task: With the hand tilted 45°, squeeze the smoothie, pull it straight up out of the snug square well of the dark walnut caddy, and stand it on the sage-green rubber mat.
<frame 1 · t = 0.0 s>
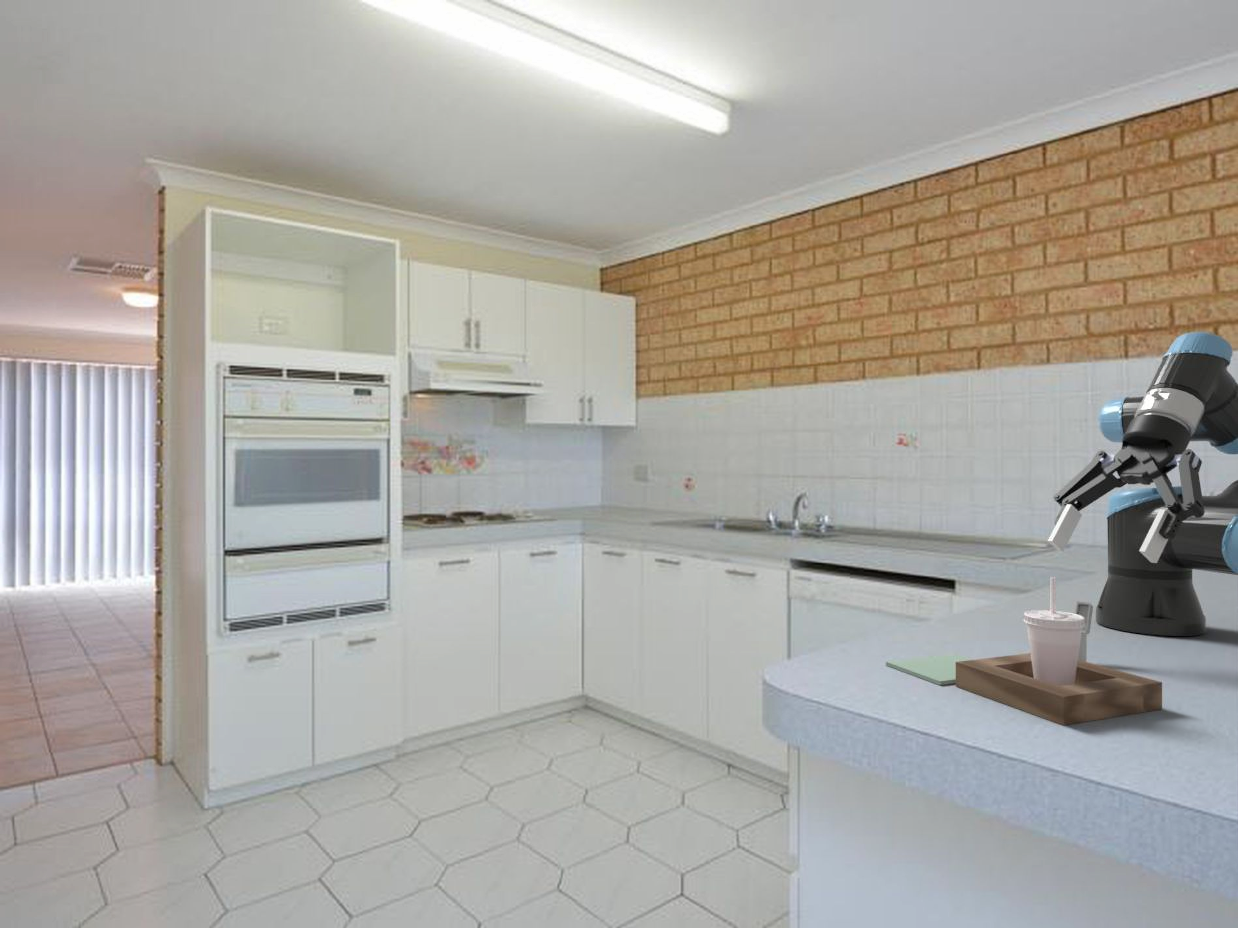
hand: (1098, 551, 106), 15 cm above the worktop, tool tilted 35°, fingers open, 13 cm apart
caddy: (1053, 696, 91), on the worktop
lighter: (1078, 663, 107), on the worktop
smoothie: (1053, 698, 91), resting in caddy
mat: (948, 670, 103), on the worktop
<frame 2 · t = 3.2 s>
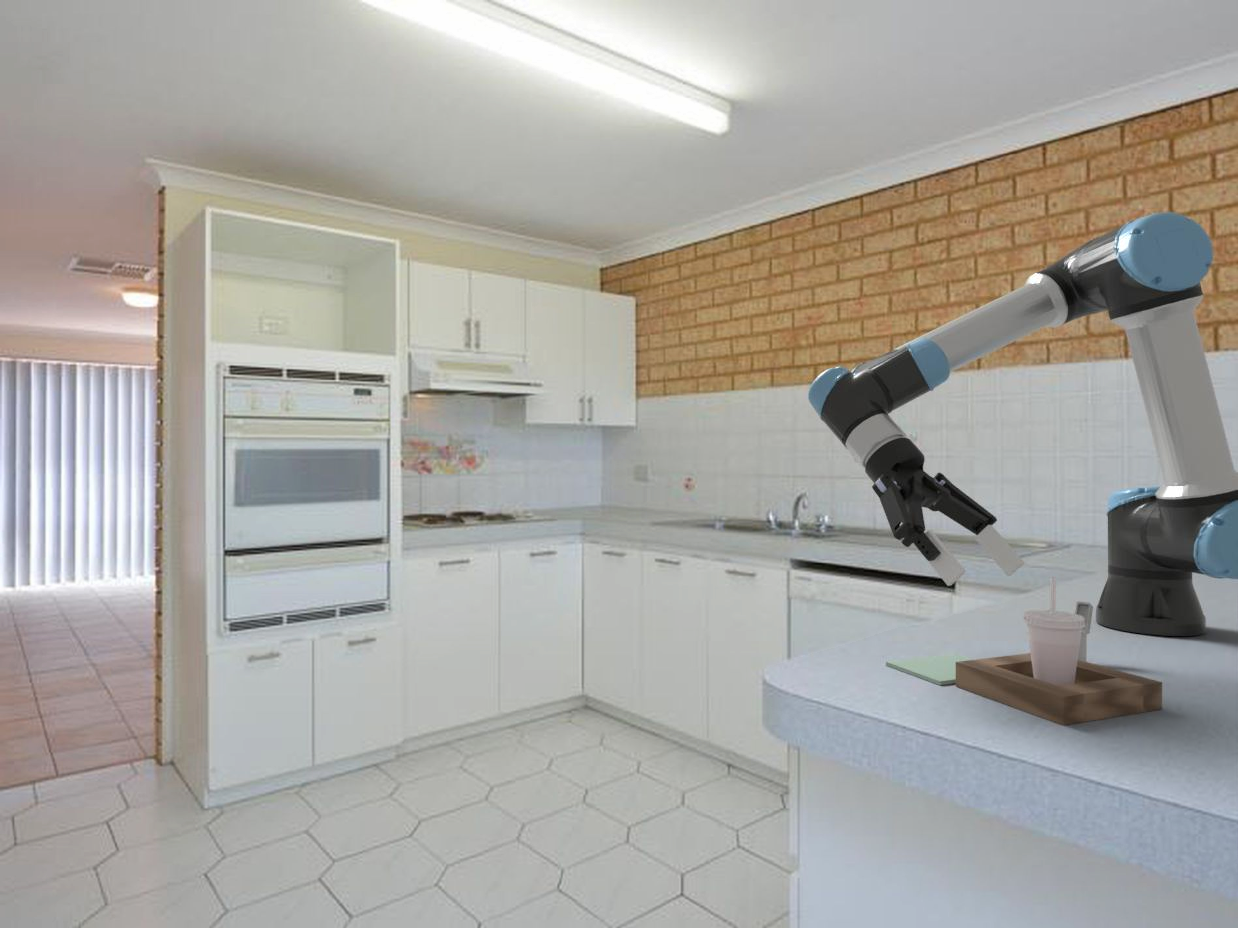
hand: (988, 574, 97), 14 cm above the worktop, tool tilted 45°, fingers open, 13 cm apart
nothing on the worktop moved.
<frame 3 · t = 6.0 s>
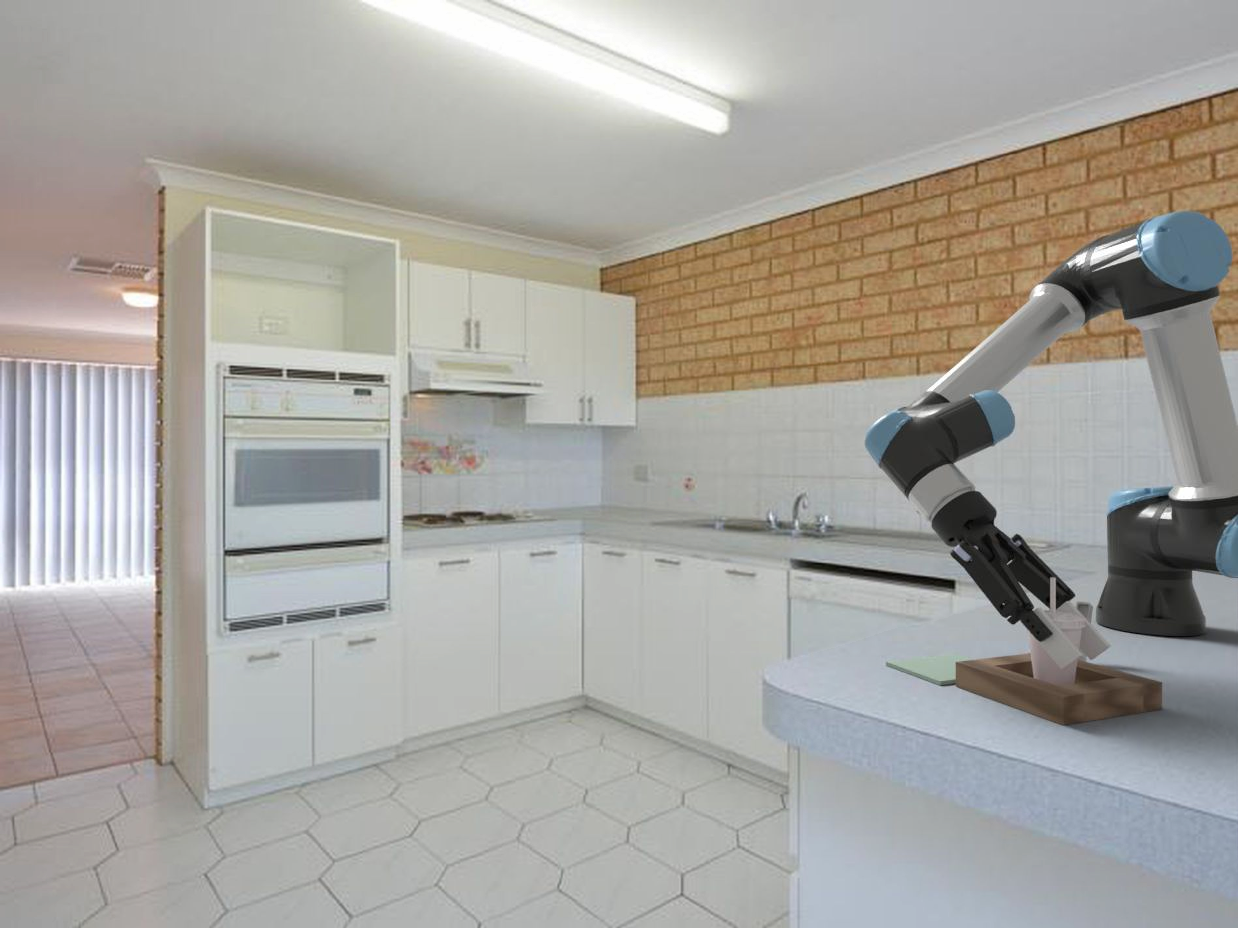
hand: (1086, 657, 88), 5 cm above the worktop, tool tilted 45°, fingers closed on smoothie, 6 cm apart
smoothie: (1053, 698, 91), resting in caddy, touching gripper
everything else where it was.
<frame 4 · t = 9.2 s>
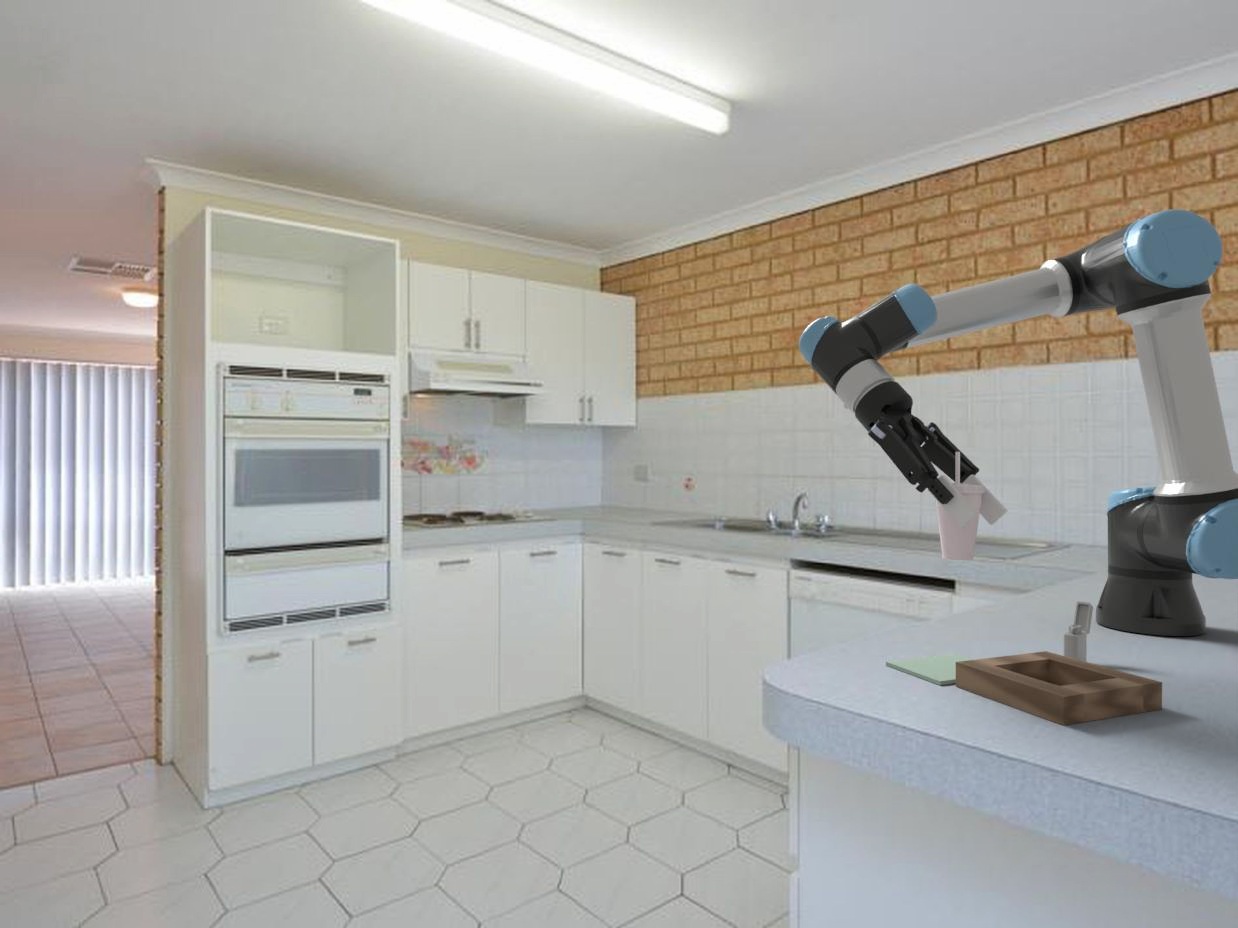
hand: (984, 518, 98), 20 cm above the worktop, tool tilted 45°, fingers closed on smoothie, 6 cm apart
smoothie: (957, 559, 101), point 15 cm above the worktop, touching gripper
everything else where it was.
when the fingers open (7 cm above the worktop, at t = 12.2 s): smoothie drops 1 cm, resting on mat.
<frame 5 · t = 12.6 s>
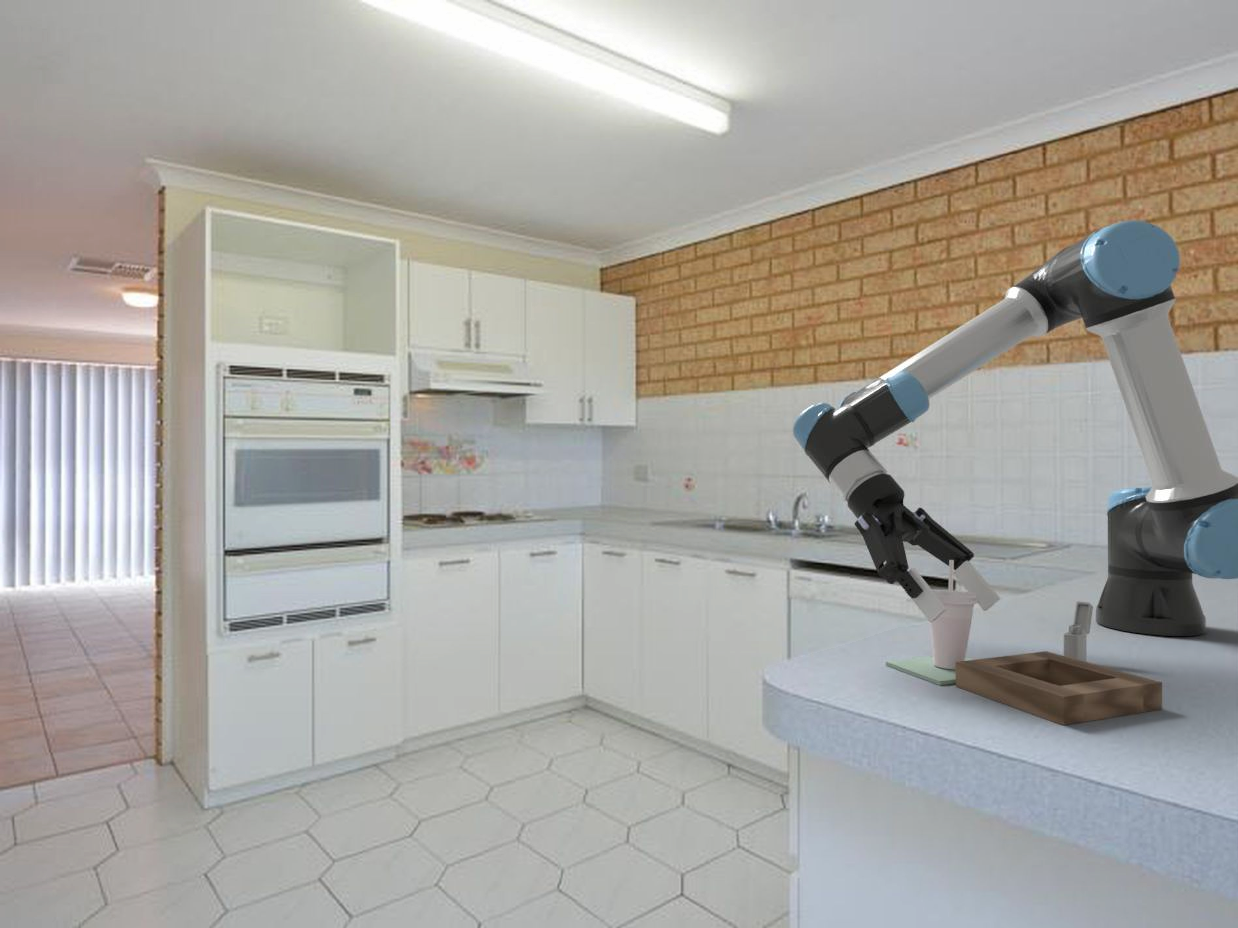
hand: (966, 610, 100), 8 cm above the worktop, tool tilted 45°, fingers open, 12 cm apart
smoothie: (948, 667, 103), resting on mat
everything else where it was.
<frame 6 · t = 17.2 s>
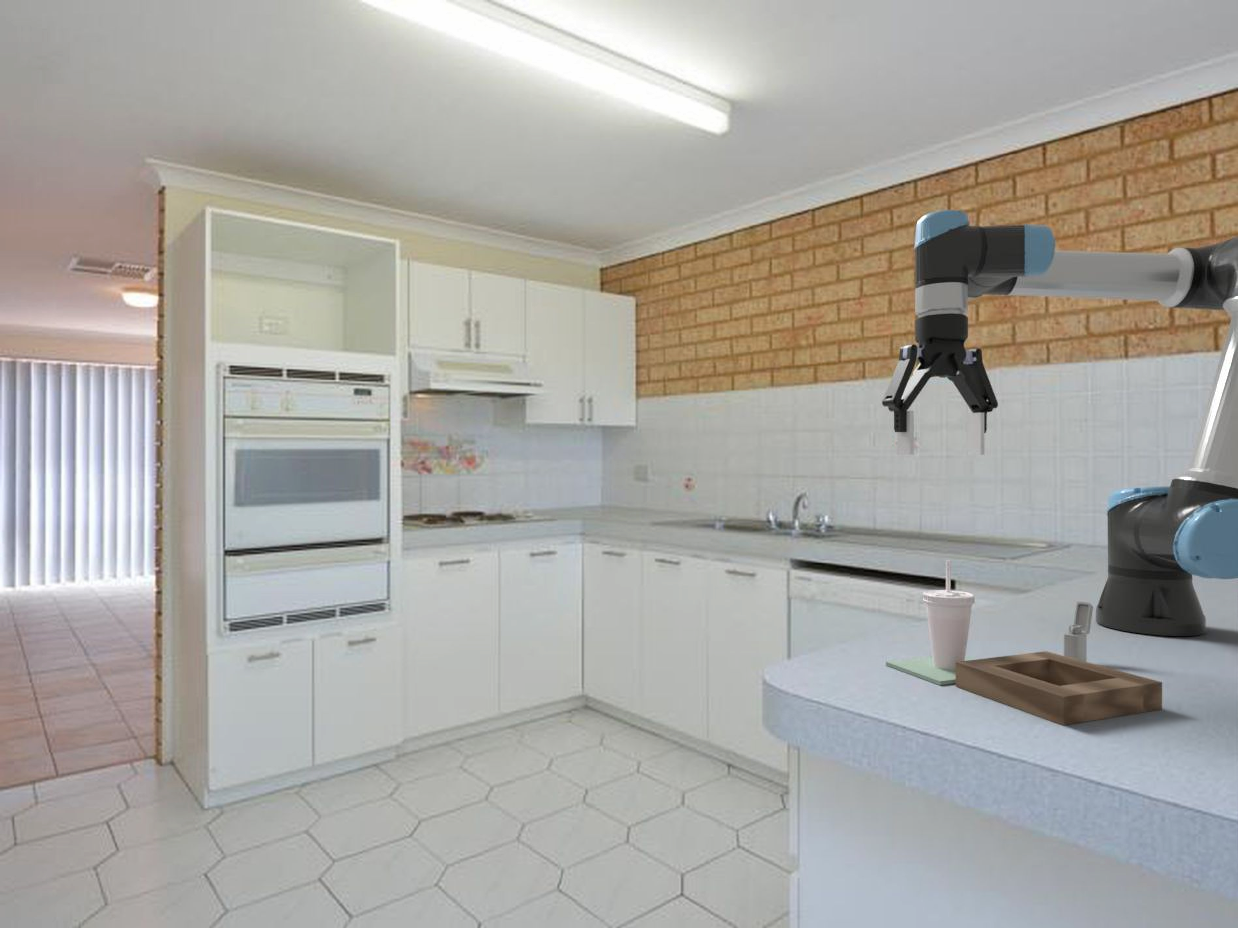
hand: (941, 454, 118), 29 cm above the worktop, tool pointing down, fingers open, 13 cm apart
nothing on the worktop moved.
at the end: smoothie inside the target area on the mat (0.1 cm from its centre), point 0.3 cm above the mat's base; smoothie tilted 0°; the gripper is holding nothing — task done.
